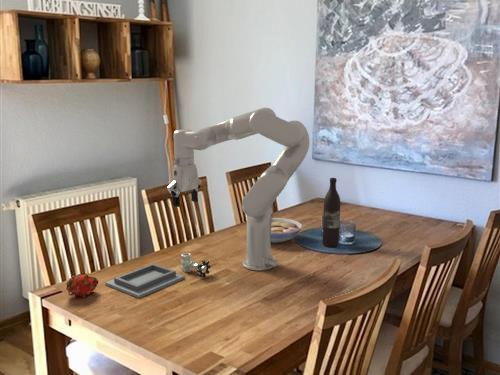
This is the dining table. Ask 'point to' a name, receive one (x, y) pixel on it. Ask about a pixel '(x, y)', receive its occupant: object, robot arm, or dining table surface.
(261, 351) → the dining table surface
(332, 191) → the wine bottle
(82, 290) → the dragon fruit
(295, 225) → the ramen bowl
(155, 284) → the rimmed tray
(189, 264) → the valve
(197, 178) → the robot arm
